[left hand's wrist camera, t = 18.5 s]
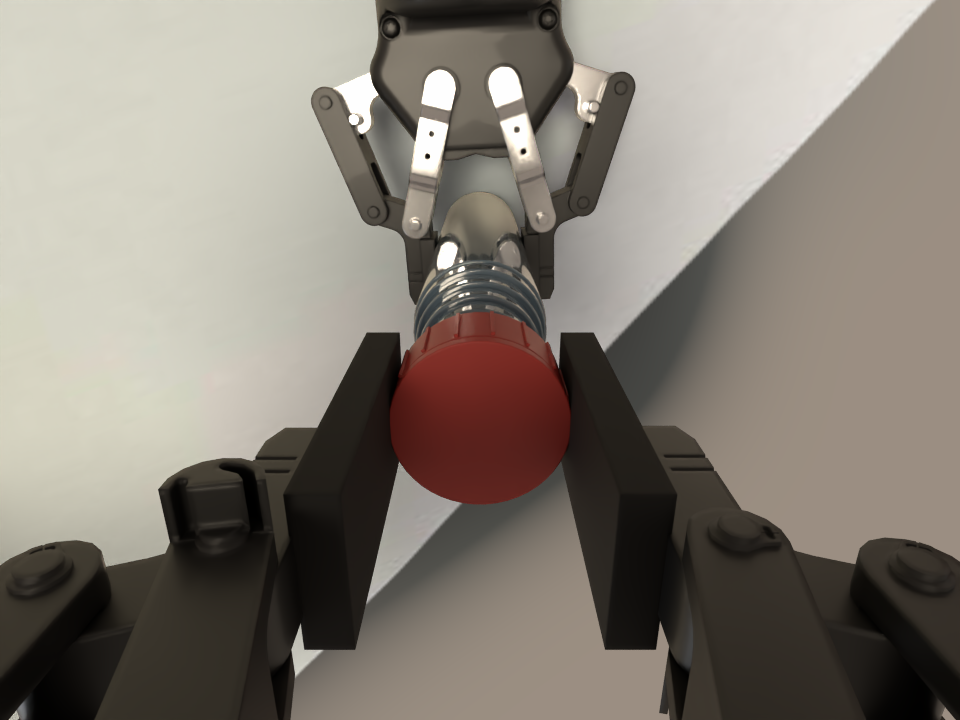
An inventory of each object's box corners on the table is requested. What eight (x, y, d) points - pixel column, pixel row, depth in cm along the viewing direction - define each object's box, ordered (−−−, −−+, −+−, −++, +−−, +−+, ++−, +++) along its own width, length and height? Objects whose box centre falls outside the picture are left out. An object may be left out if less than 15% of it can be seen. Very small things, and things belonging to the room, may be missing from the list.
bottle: (485, 277, 36) (494, 523, 14) (429, 234, 35) (348, 427, 13) (530, 222, 35) (612, 400, 13) (474, 176, 34) (463, 285, 12)
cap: (472, 275, 14) (471, 300, 12) (595, 381, 14) (612, 420, 13) (365, 394, 15) (348, 434, 13) (486, 486, 16) (487, 536, 14)
